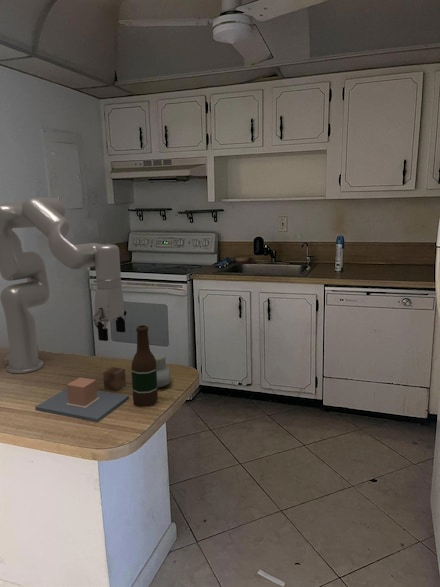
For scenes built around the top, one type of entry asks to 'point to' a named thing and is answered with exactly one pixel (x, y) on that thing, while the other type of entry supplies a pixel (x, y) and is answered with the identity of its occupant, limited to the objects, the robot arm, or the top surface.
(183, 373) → the top surface
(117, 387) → the walnut block
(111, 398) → the board
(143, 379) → the beer bottle
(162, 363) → the air freshener
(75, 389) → the terracotta block
